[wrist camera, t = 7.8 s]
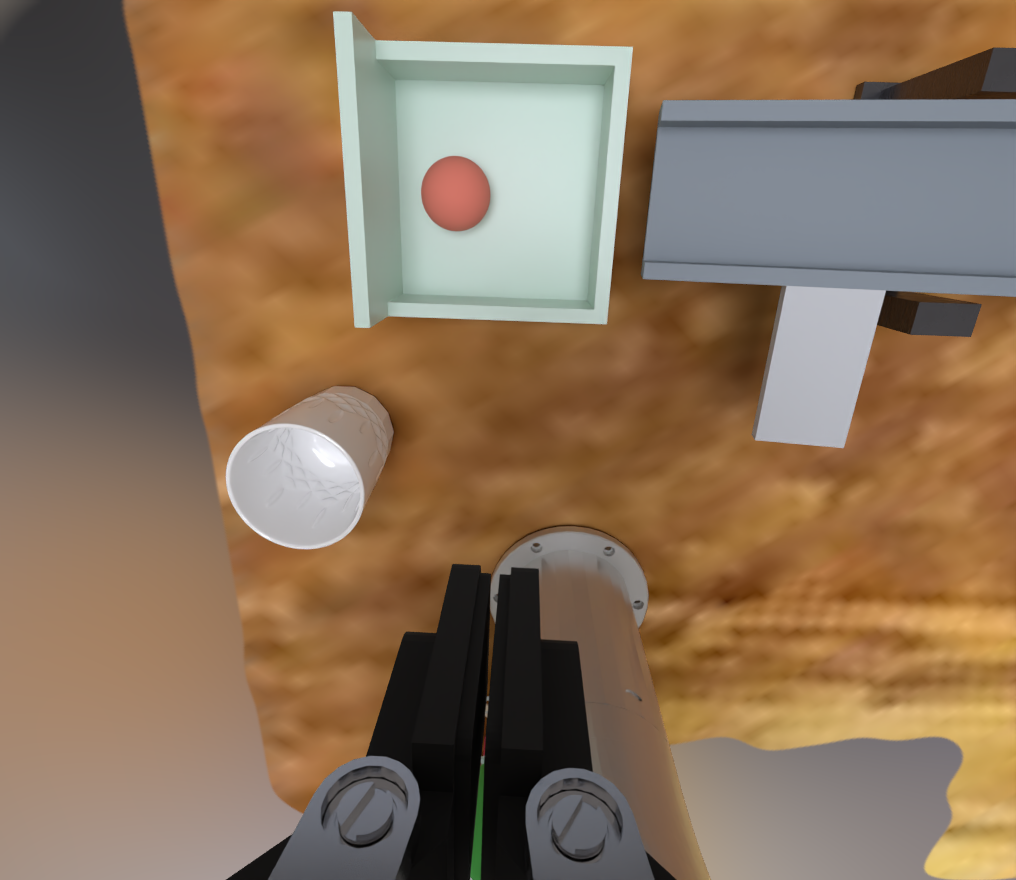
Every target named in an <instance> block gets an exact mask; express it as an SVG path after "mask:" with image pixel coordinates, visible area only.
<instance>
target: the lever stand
mask: <svg viewBox="0 0 1016 880" xmlns="http://www.w3.org/2000/svg"><path fill="white" fill-rule="evenodd" d="M957 99H1016V48H991V49H989V50H986V51H984V52H981V53H978V54H976V55H973V56H971V57H968V58H965V59H963V60H960V61H957V62H955V63H952V64H950V65H947V66H944V67H942V68H939V69H936V70H934V71H931V72H929V73H926V74H923V75H921V76H918V77H915V78H913V79H910V80H908V81H905V82H902V83H886V82H863V83H861V84H859V85H857V87H856V92H855V96H854V100H957ZM981 305H982V304H977V303H971V302H966V301H960V300H954V299H949V298H943V297H937V296H932V295H926V294H920V293H915V292H906V291H886V292H885V296H884V300H883V303H882V307H881V311H880V315H879V318H878V322H877V325H879V326H883V327H886V328H889V329H893V330H896V331H900V332H903V333H907V334H910V335H937V336H964V337H971V335H972V332H973V329H974V326H975V323H976V320H977V317H978V314H979V311H980V308H981Z"/></svg>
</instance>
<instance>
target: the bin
mask: <svg viewBox="0 0 1016 880" xmlns="http://www.w3.org/2000/svg"><path fill="white" fill-rule="evenodd" d="M333 16H334V31H335V46H336V60H337V75H338V90H339V104H340V119H341V134H342V148H343V163H344V178H345V192H346V207H347V222H348V236H349V251H350V265H351V280H352V295H353V309H354V324H355V327H359V328H371V327H372V326H374V325H375V324H377V323H378V322H380V321H381V320H383V319H385V318H386V317H388V316H398V317H425V318H452V319H479V320H506V321H533V322H559V323H586V324H607V317H608V306H609V296H610V285H611V275H612V264H613V253H614V243H615V232H616V221H617V211H618V200H619V189H620V179H621V168H622V158H623V147H624V136H625V126H626V115H627V104H628V94H629V83H630V73H631V62H632V51H633V47H616V46H577V45H537V44H498V43H458V42H419V41H379V40H375V39H374V38H373V37H372V36H371V35H370V33H369V32H368V31H367V30H366V29H365V27H364V26H363V25H362V24H361V23H360V21H359V20H358V19H357V18H356V17H355V16H354V14H353V13H352V12H333ZM448 156H461V157H465V158H467V159H470V160H471V161H473V162H474V163H476V164H477V165H478V166H479V167H480V168H481V169H482V170H483V172H484V174H485V175H486V177H487V179H488V182H489V186H490V204H489V208H488V210H487V212H486V214H485V216H484V217H483V219H482V220H481V221H480V222H479V223H478V224H477V225H475V226H474V227H472V228H470V229H468V230H464V231H450V230H446V229H444V228H442V227H440V226H438V225H437V224H436V223H434V222H433V221H432V220H431V218H430V217H429V216H428V214H427V213H426V211H425V209H424V206H423V203H422V198H421V186H422V181H423V178H424V176H425V174H426V172H427V171H428V169H429V168H430V167H431V166H432V165H433V164H434V163H435V162H436V161H438V160H440V159H442V158H444V157H448Z"/></svg>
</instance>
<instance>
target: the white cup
mask: <svg viewBox="0 0 1016 880" xmlns="http://www.w3.org/2000/svg"><path fill="white" fill-rule="evenodd" d="M393 434H394V431H393V427H392V424H391V420H390V417H389V413H388V412H387V410H386V409H385V408H384V407H383V406H382V405H381V403H380V402H379V401H378V400H377V399H376V398H375V397H374V396H373V395H371V394H369V393H367V392H364V391H362V390H360V389H358V388H356V387H347V386H332V387H330V388H328V389H326V390H324V391H321V392H319V393H317V394H315V395H313V396H312V397H309V398H307V399H305V400H303V401H301V402H300V403H298V404H296V405H294V406H293V407H291V408H289V409H287V410H285V411H284V412H282V413H281V414H279V415H277V416H276V417H274V418H273V419H271V420H270V421H268V422H267V423H265V424H263V425H262V426H260V427H259V428H257V429H255V430H254V431H252V432H251V433H249V434H248V435H246V436H245V437H244V438H243V439H242V440H240V442H239V443H238V444H237V445H236V446H235V448H234V449H233V451H232V453H231V455H230V457H229V460H228V463H227V468H226V485H227V490H228V494H229V497H230V500H231V502H232V504H233V506H234V508H235V510H236V511H237V513H238V514H239V516H240V517H241V518H242V519H243V521H244V522H245V523H246V524H247V525H248V526H249V527H250V528H252V529H253V530H254V531H255V532H257V533H258V534H259V535H261V536H262V537H264V538H266V539H268V540H270V541H272V542H274V543H276V544H279V545H282V546H286V547H290V548H296V549H316V548H321V547H325V546H328V545H331V544H333V543H335V542H337V541H339V540H341V539H342V538H344V537H345V536H346V535H347V534H348V533H350V531H351V530H352V529H353V528H354V527H355V525H356V524H357V522H358V521H359V519H360V516H361V514H362V512H363V510H364V508H365V506H366V504H367V502H368V500H369V498H370V496H371V494H372V492H373V490H374V487H375V485H376V483H377V481H378V479H379V476H380V474H381V472H382V470H383V467H384V464H385V462H386V458H387V456H388V454H389V452H390V449H391V444H392V439H393Z"/></svg>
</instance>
